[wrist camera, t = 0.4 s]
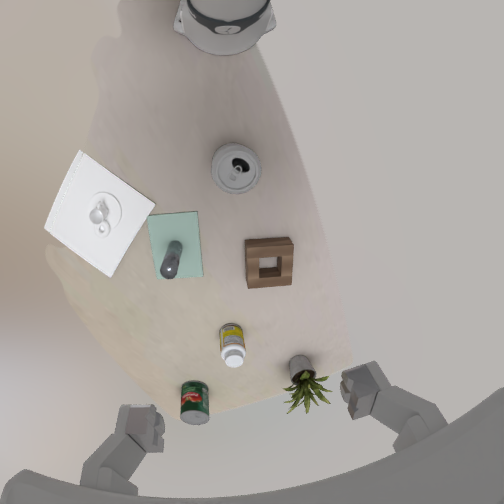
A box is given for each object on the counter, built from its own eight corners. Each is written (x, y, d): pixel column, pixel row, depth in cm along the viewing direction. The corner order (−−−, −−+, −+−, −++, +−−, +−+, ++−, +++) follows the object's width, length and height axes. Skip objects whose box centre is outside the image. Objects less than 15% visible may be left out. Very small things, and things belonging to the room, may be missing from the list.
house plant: (263, 352, 70) (275, 401, 55) (313, 334, 70) (333, 380, 55) (279, 381, 76) (290, 425, 62) (322, 364, 76) (341, 407, 61)
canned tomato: (197, 398, 76) (197, 427, 66) (176, 388, 73) (174, 418, 63) (213, 387, 74) (215, 417, 64) (192, 376, 71) (191, 407, 61)
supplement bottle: (233, 343, 67) (236, 373, 58) (214, 333, 65) (216, 363, 56) (247, 329, 66) (252, 359, 57) (228, 319, 64) (231, 349, 55)
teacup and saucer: (109, 240, 52) (102, 248, 48) (80, 219, 49) (71, 225, 46) (128, 206, 50) (122, 211, 46) (98, 184, 47) (89, 188, 43)
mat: (147, 215, 51) (146, 216, 51) (197, 211, 52) (197, 211, 52) (157, 278, 57) (157, 279, 57) (203, 275, 58) (203, 276, 58)
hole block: (244, 239, 56) (247, 247, 53) (288, 237, 57) (293, 244, 54) (245, 278, 60) (248, 288, 56) (286, 275, 61) (291, 285, 57)
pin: (167, 241, 54) (158, 263, 45) (181, 239, 54) (175, 262, 45) (169, 254, 55) (161, 279, 46) (183, 253, 55) (178, 278, 46)
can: (260, 156, 50) (273, 164, 39) (238, 189, 52) (244, 206, 41) (226, 135, 47) (229, 135, 36) (204, 169, 49) (201, 179, 38)
